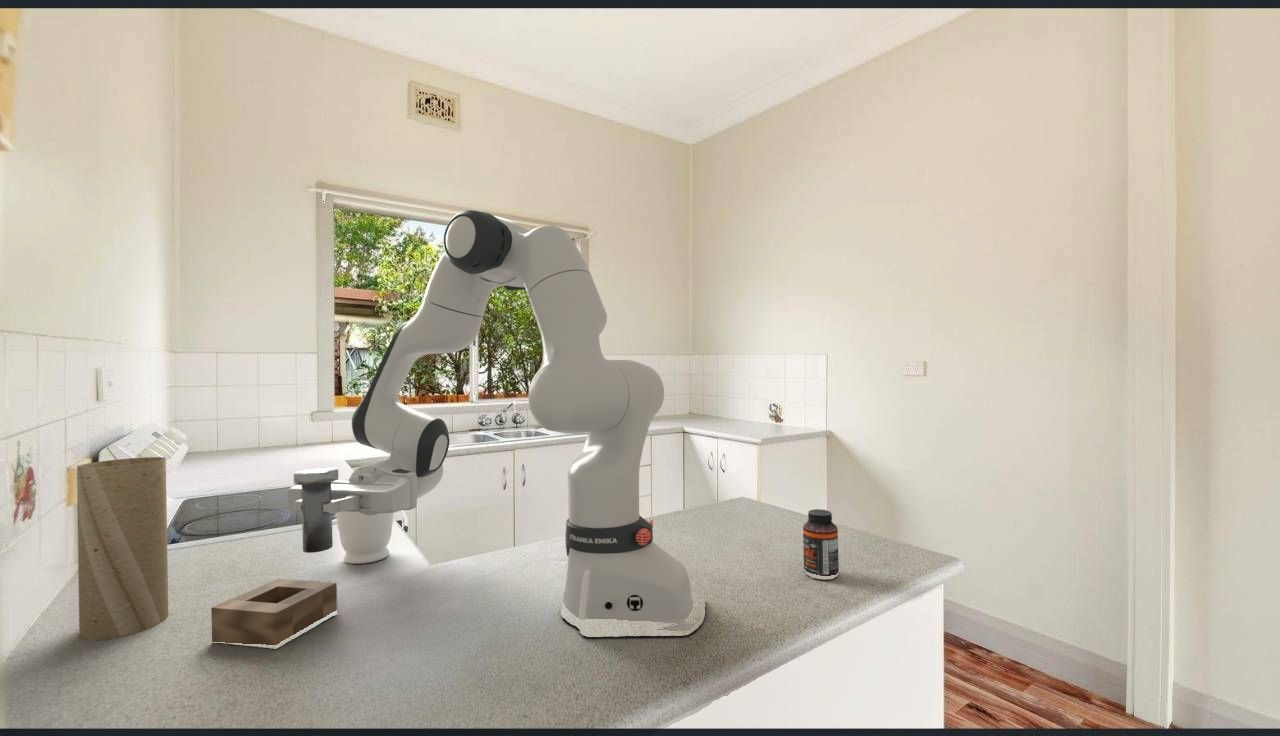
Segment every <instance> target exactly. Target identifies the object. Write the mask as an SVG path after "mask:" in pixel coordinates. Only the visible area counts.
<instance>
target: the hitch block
mask: <svg viewBox="0 0 1280 736" xmlns="http://www.w3.org/2000/svg"><path fill="white" fill-rule="evenodd" d="M337 587H338V586H337V582H333V581H332V582H330V581H317V580H315V581H314V580H301V579H286V578H277V579H275V580H272V581H270V582H268V583H265V584H263V585H260V586H258V587H256V588H253V589H252V590H249V591H247V592H245V593H242V594H239V595H238V596H235V597H233V598H230V599H227V600H226V601H224V602H222V603H219V604H216V605H215V606H212V607H210V608H211V611H210V612H211V643H212V642H225V643H242V644H262V645H263V644H266V645H277V644H279V643H280V642H281V641H283V640H285V639H287V638H289V637H290V636H292V635H294V634H296V633H297V632H299V631H300V630H303V629H304V628H306V627H308V626H309V625H311V624H313V623H314V622H316V621H318V620H320V619H322V618H324V617H326V616H327V615H329V614H330V613H332V612H334V611H336V610H337V611H338V589H337Z"/></svg>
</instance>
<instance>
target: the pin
mask: <svg viewBox="0 0 1280 736" xmlns="http://www.w3.org/2000/svg"><path fill="white" fill-rule="evenodd" d="M336 480H339V468H336V467H320V468H310V469H303V470H299V471H296V472H294V473H293V484H294V486H297V485H301V486H302V512H301V520H302V522H301V523H302V524H301V526H302V528H301V529H302V530H301V531H302V552H303V553H306V554H310V553H320V552H324V551H327V550H329V549H330V550H331V548H332V547H333V545H334V544H333V543H334V542H333V541H334V540H333V514H325V513H323V509H324V508H323V503H324V502H327V501H330V500H332V493H331V482H333V481H336Z"/></svg>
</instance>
